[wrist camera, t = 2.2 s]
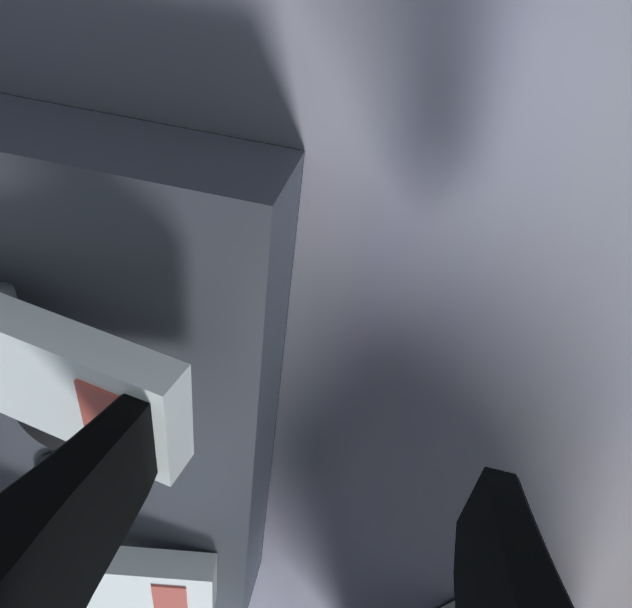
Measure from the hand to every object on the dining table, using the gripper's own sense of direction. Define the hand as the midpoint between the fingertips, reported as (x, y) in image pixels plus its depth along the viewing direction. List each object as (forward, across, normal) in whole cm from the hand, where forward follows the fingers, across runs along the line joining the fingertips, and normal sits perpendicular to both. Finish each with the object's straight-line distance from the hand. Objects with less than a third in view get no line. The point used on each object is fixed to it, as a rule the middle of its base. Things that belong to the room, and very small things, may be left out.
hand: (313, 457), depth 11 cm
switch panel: (+5, +8, +6) cm, 11 cm away
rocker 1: (+1, +8, 0) cm, 8 cm away
